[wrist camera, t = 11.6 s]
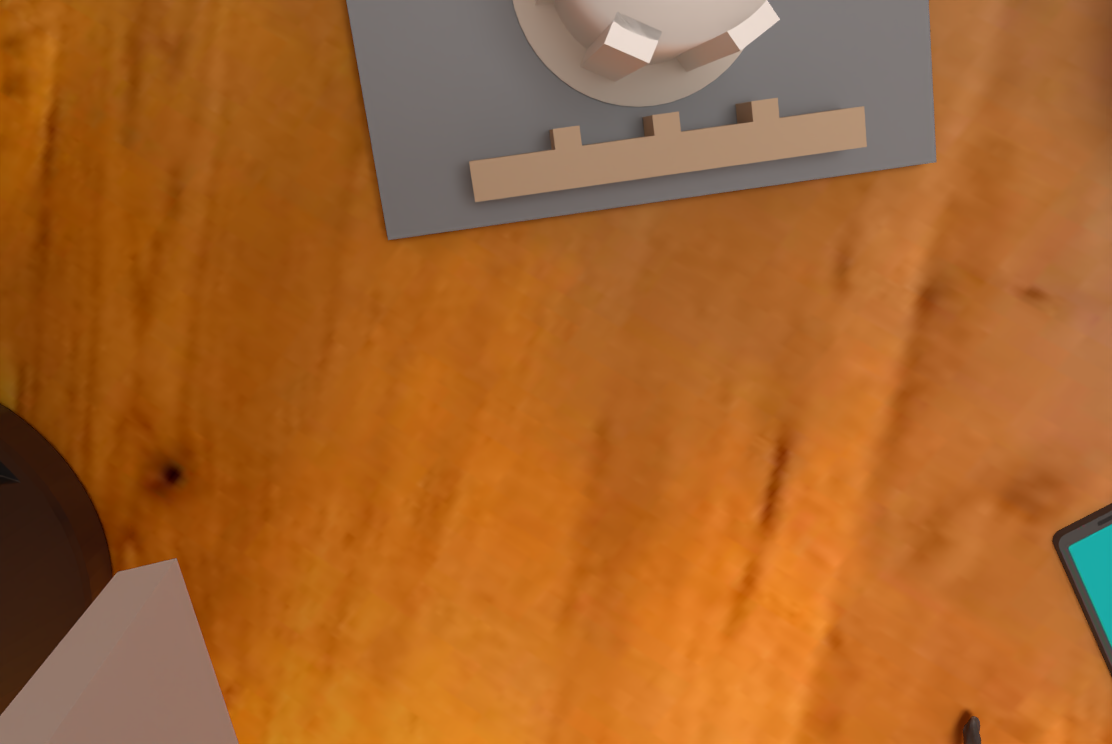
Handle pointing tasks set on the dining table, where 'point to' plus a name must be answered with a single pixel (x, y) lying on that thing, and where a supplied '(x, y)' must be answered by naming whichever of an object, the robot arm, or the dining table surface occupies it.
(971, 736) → the lion figurine
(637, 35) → the planet gear
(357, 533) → the dining table surface
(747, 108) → the carrier plate
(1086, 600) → the smartphone
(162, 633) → the robot arm
